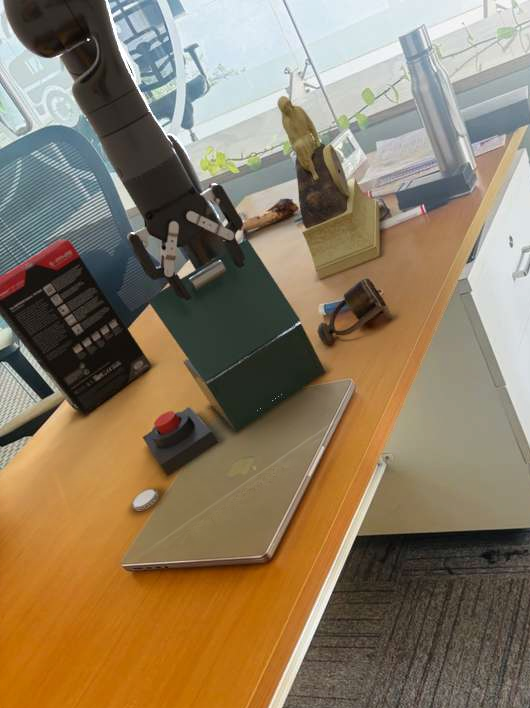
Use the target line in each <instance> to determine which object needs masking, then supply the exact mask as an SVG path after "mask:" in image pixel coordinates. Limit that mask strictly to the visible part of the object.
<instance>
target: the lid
mask: <svg viewBox="0 0 530 708" xmlns="http://www.w3.org/2000/svg"><path fill="white" fill-rule="evenodd" d="M238 244H239V246H240V248H241V250H242V252H243V254H244V256H245V260H244V261H243V263H244V266H242V267H241V268H239V267H237V266H236V265H235V264H234V262H233V260H232V258H231V256H230V255H229V253H228V251H226V252H224V253H223V254H221V255H219V256H218V257H216V258H214V259H213V260H211V261H209V262H208V263H206V264H205V265H203V266H201V267H200V268H198V269H196V270H195V269H194V270H192V271H191V272H190V273H188V274H187V275H185V276H183V277H181V278H180V279H181V281H182V283H183V284H184V286H185V288H186V289H187V291H188V293H189V294H190V296H191V299H189V300H188V301H187V300H185V299H184V298H182V299H181V298H180V297H178V296H177V295H176V294H175V293H174V291H173V289H172V288H171V286H170V285H168V286H167V287H165V288H163V289H162V290H160V291H158V292H157V293H155V294H153V295H152V296H150V297H148V298H147V302H148V303H149V305H150V306H151V308H152V309H153V311H154V312H155V313H156V315H157V316H158V318H159V320H160V321H161V322H162V324H163V325H164V326H165V328H166V329H167V331H168V332H169V334H170V335H171V336H172V338H173V340H174V341H175V342H176V344H177V345H178V347H179V348H180V349H181V351H182V352H183V354H184V355H185V357H186V359H189V361H190V362H191V364H192V365H193V366H194V368H195V369H196V371H197V372H198V374H199V375H200V376H201V378H202V379H203V381H204V382H206V381H208V380H210V379H211V378H213V377H214V376H216V375H217V374H219V373H220V372H222V371H224V370H225V369H227V368H228V367H230V366H231V365H233V364H234V363H236V362H237V361H239V360H241V359H242V358H244V357H245V356H247V355H248V354H250V353H251V352H253V351H254V350H256V349H258V348H259V347H261V346H262V345H264V344H265V343H267V342H268V341H270V340H271V339H273V338H275V337H276V336H278V335H279V334H281V333H282V332H284V331H285V330H287V329H289V328H290V327H292V326H293V325H295V324H296V323H298V322H299V323H300V322H301V319H300V317H299V316H298V315H297V313H296V311H295V310H294V308H293V306H292V305H291V303H290V302H289V301H288V299H287V298H286V296H285V294H284V293H283V292H282V290H281V288H280V287H279V285H278V283H277V282H276V281H275V279H274V277H273V276H272V274H271V273H270V271H269V270H268V269H267V266H266V265H265V263H264V262H263V261H262V259H261V257H260V256H259V255H258V253H257V251H256V250H255V248H254V247H253V245H252V243H251V242H250V240H248V238H245V240H244V241H242V242H241V241H240V242H238Z"/></svg>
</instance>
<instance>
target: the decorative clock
mask: <svg viewBox="0 0 530 708" xmlns="http://www.w3.org/2000/svg"><path fill="white" fill-rule="evenodd" d="M276 103H277V104H276V105H277V107H278V109H279V111H280V112H281V123H282V127H283V129H284V131H285V133H286V135H287V138H288V140H289V143H290V145H291V149H292V151H293V152H294V154H295V161H294V165H295V174H296V181H297V190H298V204H299V205H298V206H299V211H300V217H301V222H302V225H303V227H302V232H301V233H302V235H303V237H304V239H305V241H306V244H307V247H308V249H309V252H310V255H311V258H312V261H313V265H314V269H315V272H316V274H317V276H318V278H319V280H322V279H324V278H327V277H330V276H332V275H335V274H338V273H340V272H342V271H345V270H348V269H350V268H352V267H355V266H358V265H361V264H363V263H366V262H368V261H371V260H373V259H376V258H379V257H380V256H381V255H380V253H381V251H380V249H381V247H380V246H381V245H380V243H381V239H380V238H381V237H380V235H381V228H380V227H381V223H380V222H381V220H380V219H381V217H380V216H381V211H380V210H381V207H380V204H379V202H378V200H377V198H373V197H371V196H369V195H367V194H366V193H365V192H364V191H363V190H362V189H361V187H360V186H359V184H358V182H357V179H356V177H352V178H350V179H348V180H347V177H346V173H345V171H344V168H343V165H342V162H341V160H340V158H339V156H338V153H337V151H336V150H335V147H334V146H333V145H332V144H328V145H326V144H324V143H323V142H321V140H320V139H319V135H318V132H317V128H316V126H315V125H314V123H313V120H312V119H311V118H310V116H309V115H308V114H307V112H306V111H305V110H304V108H303V107H302V106H300V105H293V103H292V100H291V99H289V98H288V97H287V96H285V95H282V96H280V97H279V98H278V100H277V102H276Z"/></svg>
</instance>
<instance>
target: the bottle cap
mask: <svg viewBox="0 0 530 708" xmlns="http://www.w3.org/2000/svg"><path fill="white" fill-rule="evenodd" d="M159 495H160V494H159V492H158V491H157V490H156V489H155V488H148V489H145V490H144V491H142V492H140V493H139V494H138V495H136V497H134V499H133V500H132V503H131V507H132V508H133V509H134V511H136V512H141V511H142V512H143V511H146V510H147V509H149V508H150V507H152V506H153V505H154V504H155V503H156V502H157V501H158V499H159Z"/></svg>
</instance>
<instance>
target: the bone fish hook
mask: <svg viewBox="0 0 530 708" xmlns="http://www.w3.org/2000/svg"><path fill="white" fill-rule="evenodd" d="M298 211H300V206H299V205H298V204H297V203H295V202H294V201H293V198H280V199H279V200H278V201H277V202H276V203H274V204H273V205H272V206H271V207H270V208H268V209H267V210H266V211H265V212H263V213H260V214H257V215H255V216H253V217H250V218H246V219H245V221H242V222H243V227H242V228H240V229H239V230H238V232H239V231H243V230H246V231H247V232H248V231H252V230H255V229H259V228H263V227H266V226H268V225H270V224H273V223H277V222H279V221H281V220H283V219H286V218H289V217H291V216H292V215H294V214H295V213H297V212H298Z"/></svg>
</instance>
